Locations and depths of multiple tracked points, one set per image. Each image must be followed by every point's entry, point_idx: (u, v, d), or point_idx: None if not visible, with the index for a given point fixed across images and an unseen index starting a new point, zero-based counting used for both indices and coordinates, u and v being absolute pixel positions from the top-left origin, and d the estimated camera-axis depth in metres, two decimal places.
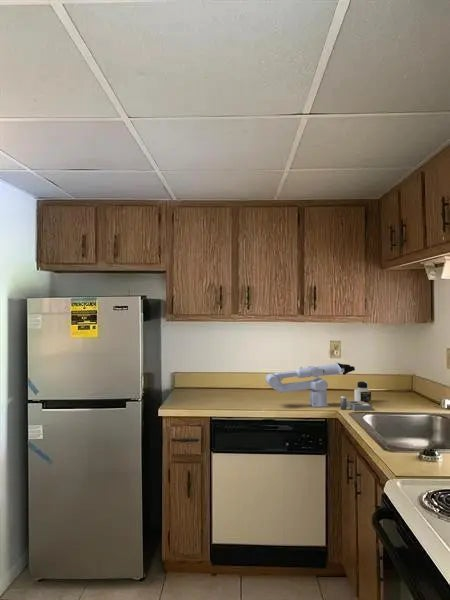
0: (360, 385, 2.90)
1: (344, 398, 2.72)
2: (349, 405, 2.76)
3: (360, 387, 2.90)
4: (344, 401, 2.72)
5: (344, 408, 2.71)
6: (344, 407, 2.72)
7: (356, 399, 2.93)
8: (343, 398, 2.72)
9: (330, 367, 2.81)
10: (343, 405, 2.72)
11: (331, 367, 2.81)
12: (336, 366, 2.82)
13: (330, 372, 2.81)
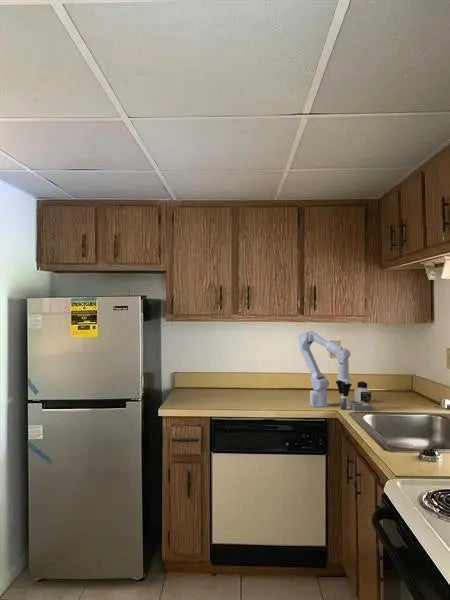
0: (360, 385, 2.90)
1: (344, 398, 2.72)
2: (349, 405, 2.76)
3: (360, 387, 2.90)
4: (344, 401, 2.72)
5: (344, 408, 2.71)
6: (344, 407, 2.72)
7: (356, 399, 2.93)
8: (343, 398, 2.72)
9: (347, 371, 2.71)
10: (343, 405, 2.72)
11: (347, 372, 2.71)
12: (347, 377, 2.71)
13: (339, 370, 2.72)
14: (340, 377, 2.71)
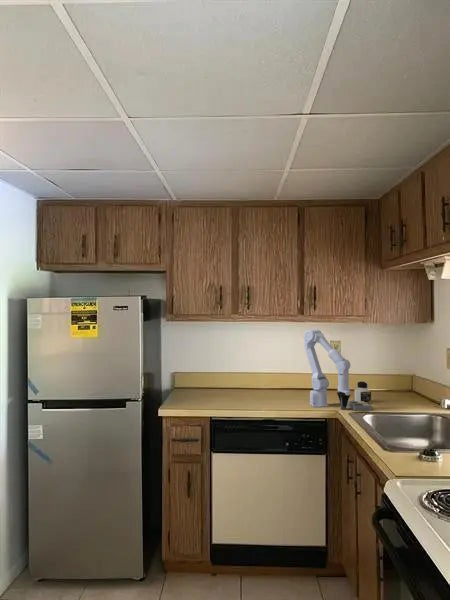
0: (360, 385, 2.90)
1: None
2: (349, 405, 2.76)
3: (360, 387, 2.90)
4: None
5: (344, 408, 2.71)
6: (344, 407, 2.72)
7: (356, 399, 2.93)
8: None
9: (347, 382, 2.71)
10: None
11: (347, 383, 2.71)
12: (348, 388, 2.71)
13: (339, 381, 2.72)
14: (340, 388, 2.71)
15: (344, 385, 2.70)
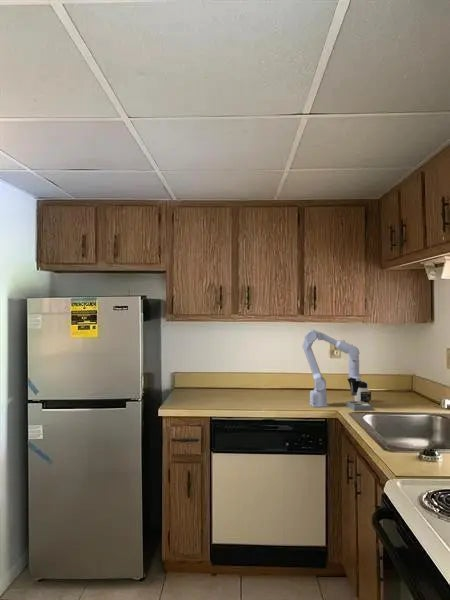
0: (360, 385, 2.90)
1: None
2: (349, 405, 2.76)
3: (360, 387, 2.90)
4: None
5: (355, 394, 2.77)
6: (355, 393, 2.77)
7: (356, 399, 2.93)
8: None
9: (358, 368, 2.77)
10: None
11: (358, 369, 2.77)
12: (358, 374, 2.77)
13: (352, 367, 2.76)
14: (351, 374, 2.77)
15: (355, 371, 2.76)
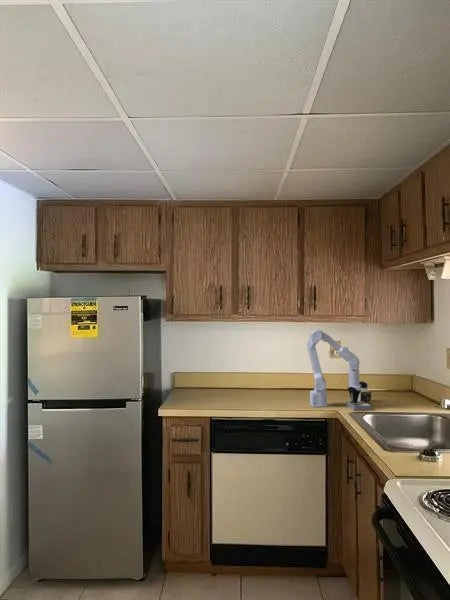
0: None
1: None
2: (349, 405, 2.76)
3: (360, 387, 2.90)
4: None
5: None
6: (355, 402, 2.77)
7: None
8: None
9: (358, 377, 2.77)
10: None
11: (358, 378, 2.77)
12: (358, 384, 2.77)
13: (352, 377, 2.76)
14: (351, 383, 2.77)
15: (355, 380, 2.76)
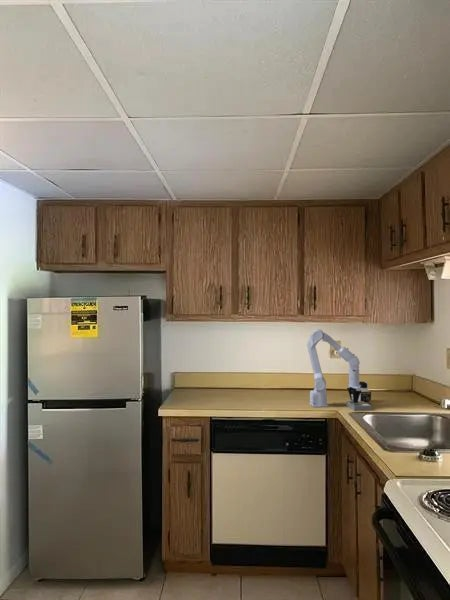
0: None
1: None
2: (349, 405, 2.76)
3: (360, 387, 2.90)
4: None
5: None
6: None
7: None
8: None
9: (358, 378, 2.77)
10: None
11: (358, 379, 2.77)
12: (358, 384, 2.77)
13: (352, 377, 2.76)
14: (351, 384, 2.77)
15: (355, 381, 2.76)
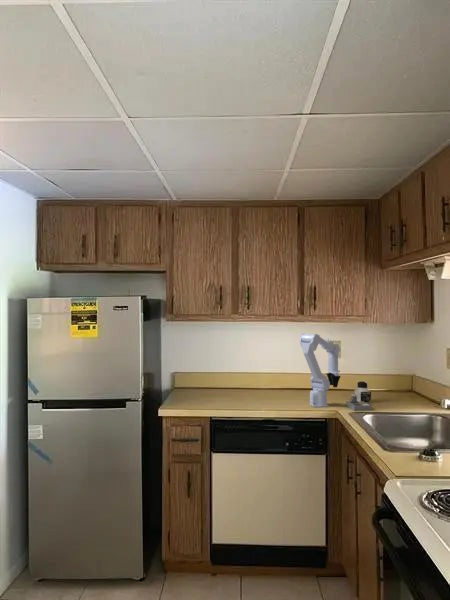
0: (360, 385, 2.90)
1: (355, 396, 2.77)
2: (349, 405, 2.76)
3: (360, 387, 2.90)
4: (355, 399, 2.77)
5: None
6: None
7: None
8: (354, 396, 2.77)
9: (337, 364, 2.91)
10: None
11: (337, 365, 2.91)
12: (337, 370, 2.91)
13: (335, 363, 2.90)
14: (330, 369, 2.91)
15: (334, 367, 2.90)
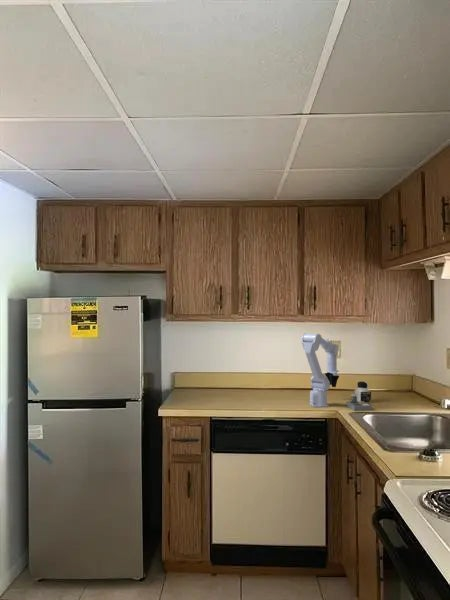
0: (360, 385, 2.90)
1: (355, 396, 2.77)
2: (349, 405, 2.76)
3: (360, 387, 2.90)
4: (355, 399, 2.77)
5: None
6: None
7: None
8: (354, 396, 2.77)
9: (335, 363, 2.92)
10: None
11: (335, 364, 2.92)
12: (335, 369, 2.92)
13: (334, 363, 2.91)
14: (329, 369, 2.92)
15: (332, 366, 2.91)
